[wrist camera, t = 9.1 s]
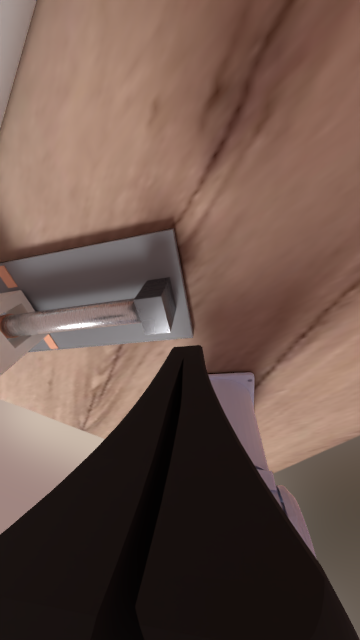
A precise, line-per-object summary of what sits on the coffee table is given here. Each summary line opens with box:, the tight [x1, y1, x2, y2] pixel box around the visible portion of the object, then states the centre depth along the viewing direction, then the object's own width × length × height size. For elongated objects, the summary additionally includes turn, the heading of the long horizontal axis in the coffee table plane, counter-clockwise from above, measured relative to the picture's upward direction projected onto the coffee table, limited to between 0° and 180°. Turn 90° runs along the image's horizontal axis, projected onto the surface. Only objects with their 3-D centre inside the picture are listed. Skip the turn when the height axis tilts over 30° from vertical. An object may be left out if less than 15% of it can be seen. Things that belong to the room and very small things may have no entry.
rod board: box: [0, 228, 193, 352], centre depth 17 cm, size 10×24×5 cm, turn 101°
